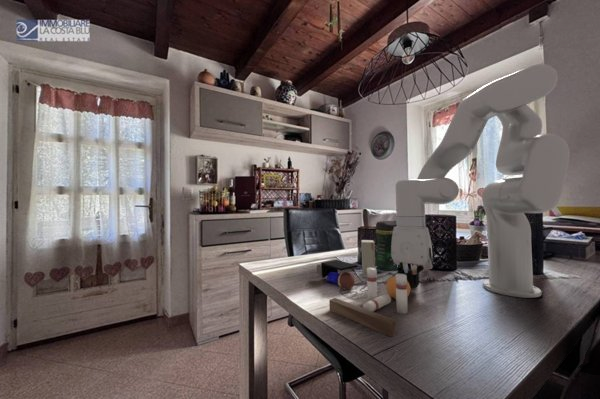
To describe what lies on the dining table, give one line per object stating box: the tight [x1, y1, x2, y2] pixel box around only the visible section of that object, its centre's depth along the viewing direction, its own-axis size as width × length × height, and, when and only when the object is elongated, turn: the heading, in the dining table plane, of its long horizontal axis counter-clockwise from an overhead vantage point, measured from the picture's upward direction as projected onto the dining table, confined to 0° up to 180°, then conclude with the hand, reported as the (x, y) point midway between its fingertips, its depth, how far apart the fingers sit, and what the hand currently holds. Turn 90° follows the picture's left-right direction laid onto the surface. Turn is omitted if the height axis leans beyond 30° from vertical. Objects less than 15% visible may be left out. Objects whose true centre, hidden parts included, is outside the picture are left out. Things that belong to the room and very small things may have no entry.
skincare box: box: [360, 239, 376, 279], centre depth 87 cm, size 6×4×12 cm
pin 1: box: [366, 267, 378, 302], centre depth 64 cm, size 2×2×8 cm
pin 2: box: [395, 273, 409, 315], centre depth 58 cm, size 2×2×8 cm
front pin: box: [362, 293, 392, 312], centre depth 60 cm, size 2×2×8 cm
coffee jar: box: [375, 220, 398, 271], centre depth 96 cm, size 10×8×19 cm
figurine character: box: [316, 259, 358, 290], centre depth 79 cm, size 7×8×15 cm
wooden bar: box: [328, 297, 397, 338], centre depth 54 cm, size 2×16×2 cm, turn 40°
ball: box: [385, 275, 411, 300], centre depth 65 cm, size 6×6×6 cm
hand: (412, 286), depth 70 cm, fingers closed
